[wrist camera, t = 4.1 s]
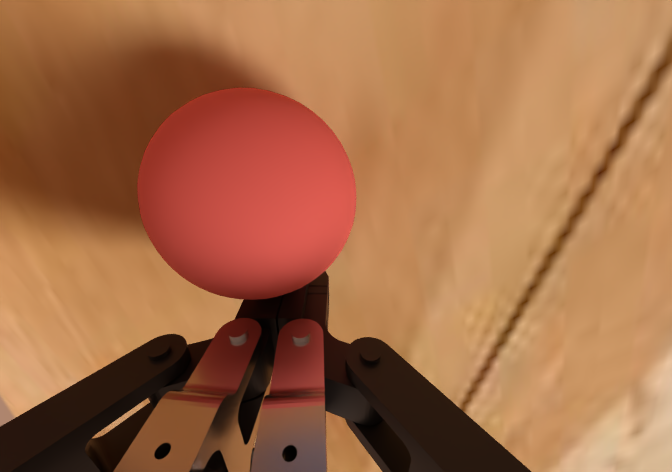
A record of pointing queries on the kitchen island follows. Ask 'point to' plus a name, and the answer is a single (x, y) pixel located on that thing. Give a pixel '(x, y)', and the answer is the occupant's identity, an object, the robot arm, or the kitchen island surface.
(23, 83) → the kitchen island surface
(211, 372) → the robot arm
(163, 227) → the ball
